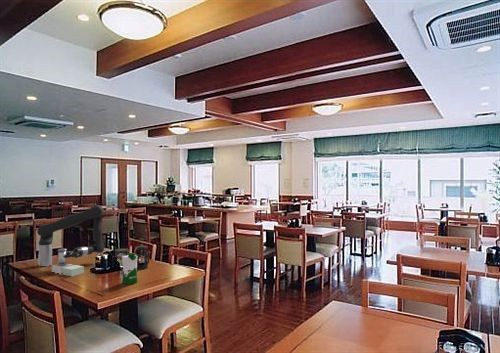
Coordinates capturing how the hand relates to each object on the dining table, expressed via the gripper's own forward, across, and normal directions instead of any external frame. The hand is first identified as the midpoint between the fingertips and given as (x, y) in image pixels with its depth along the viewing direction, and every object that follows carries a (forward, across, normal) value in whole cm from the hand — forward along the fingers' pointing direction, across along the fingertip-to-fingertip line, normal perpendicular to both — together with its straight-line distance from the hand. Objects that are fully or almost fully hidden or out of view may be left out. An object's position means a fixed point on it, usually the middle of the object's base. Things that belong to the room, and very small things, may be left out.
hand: (61, 256), depth 266 cm
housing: (-1, 0, +7) cm, 7 cm away
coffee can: (-31, +30, +12) cm, 45 cm away
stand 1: (-1, 0, +12) cm, 12 cm away
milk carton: (-4, +67, +12) cm, 68 cm away
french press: (-37, +46, +12) cm, 60 cm away
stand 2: (-1, +13, +12) cm, 18 cm away
